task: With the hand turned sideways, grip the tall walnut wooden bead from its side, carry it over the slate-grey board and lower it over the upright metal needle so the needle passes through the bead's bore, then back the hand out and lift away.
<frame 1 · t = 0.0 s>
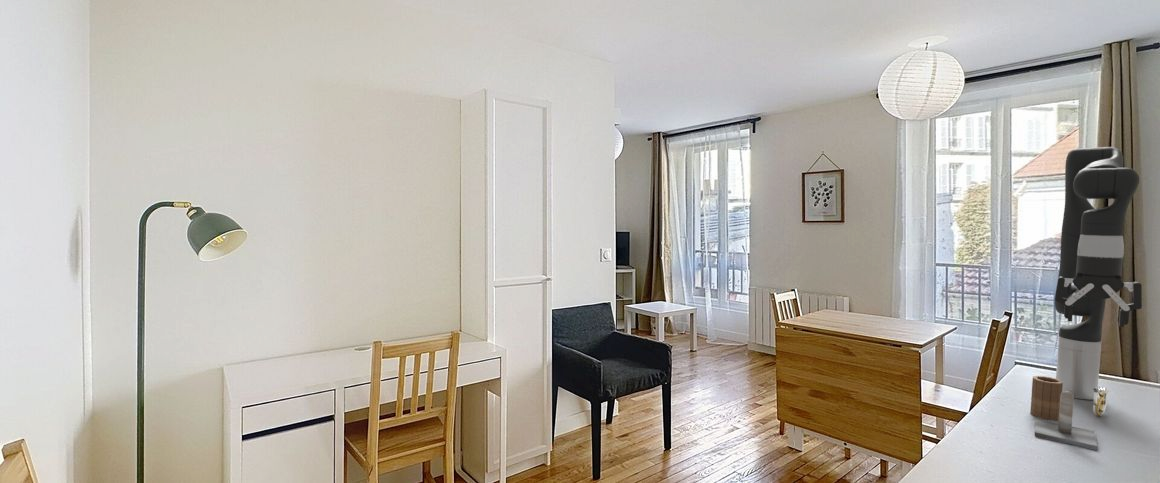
hand: (1094, 323, 121), 29 cm above the table, tool pointing down, fingers open, 8 cm apart
needle stand: (1064, 435, 128), on the table
wooden bead: (1045, 415, 141), on the table
ring: (1099, 416, 141), on the table
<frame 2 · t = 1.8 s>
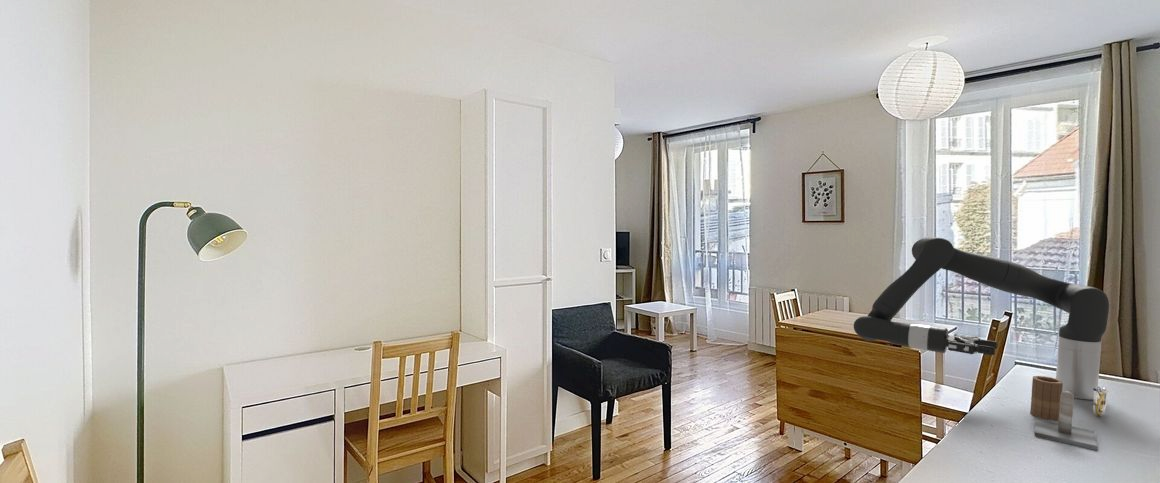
hand: (995, 348, 147), 16 cm above the table, tool horizontal, fingers open, 8 cm apart
nothing on the table moved.
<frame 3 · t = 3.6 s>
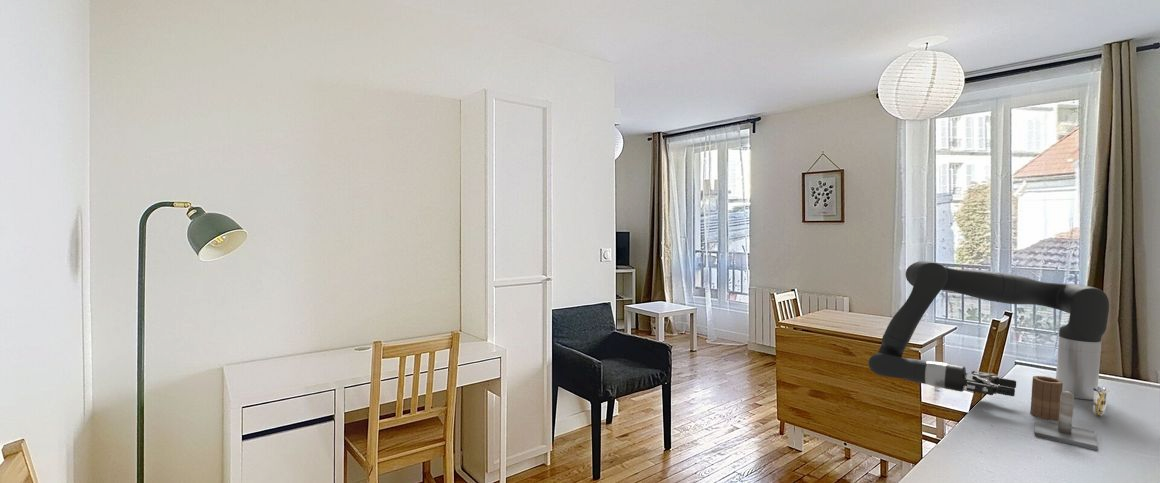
hand: (1015, 388, 145), 6 cm above the table, tool horizontal, fingers open, 8 cm apart
nothing on the table moved.
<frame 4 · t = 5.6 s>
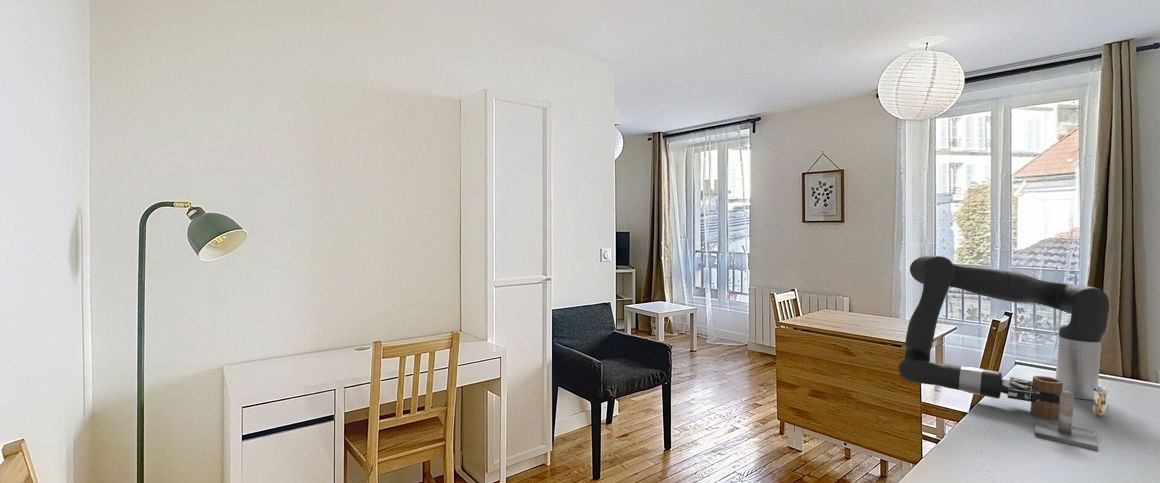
hand: (1058, 396, 139), 6 cm above the table, tool horizontal, fingers closed on wooden bead, 6 cm apart
wooden bead: (1045, 415, 141), on the table, touching gripper
everything else where it was.
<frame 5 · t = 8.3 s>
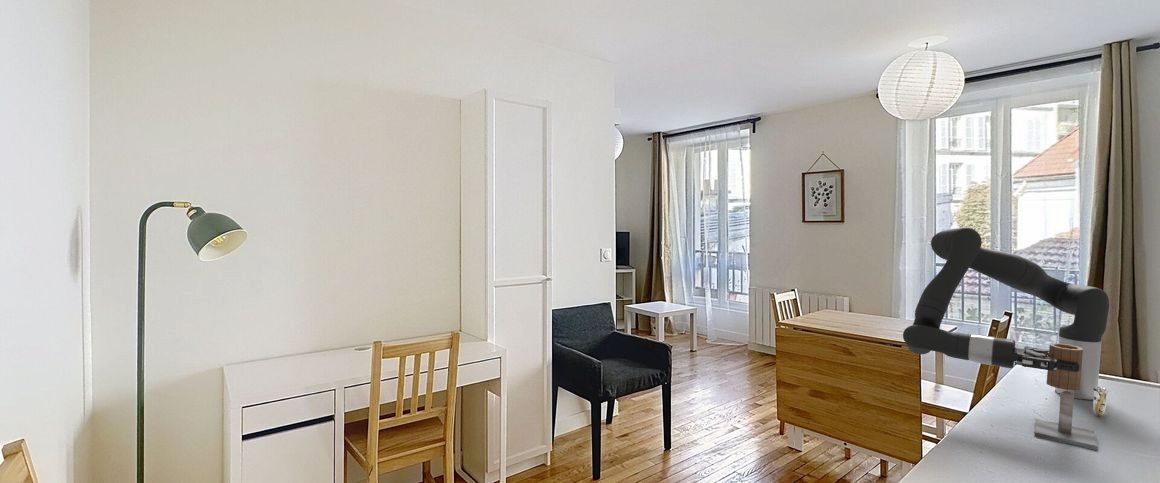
hand: (1078, 364, 127), 18 cm above the table, tool horizontal, fingers closed on wooden bead, 6 cm apart
wooden bead: (1062, 386, 129), point 12 cm above the table, touching gripper
everything else where it was.
when the fingers open (9 cm above the table, at t = 11.2 s): wooden bead drops 2 cm, resting on needle stand.
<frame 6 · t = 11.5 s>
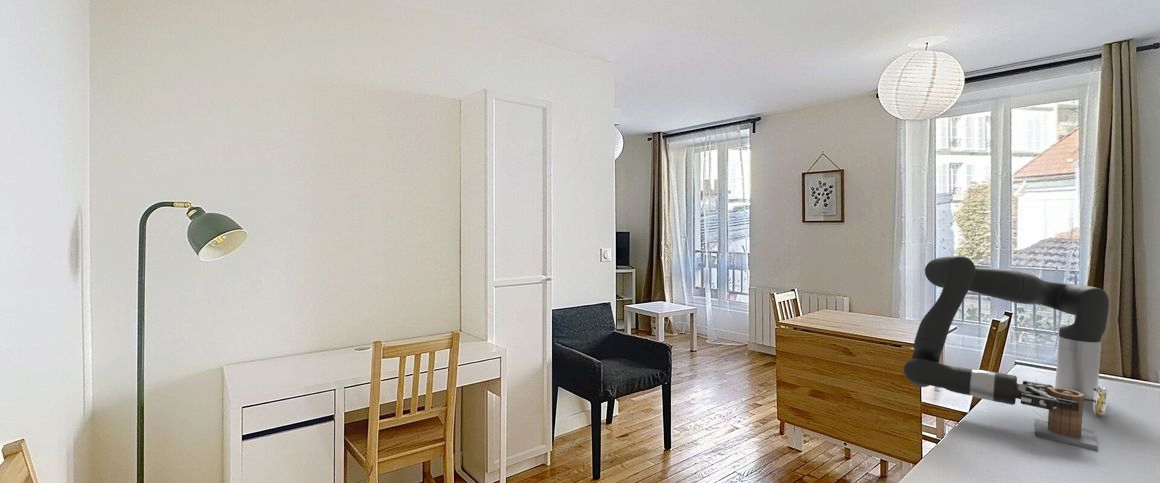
hand: (1077, 402, 126), 9 cm above the table, tool horizontal, fingers open, 8 cm apart
wooden bead: (1063, 431, 128), point 1 cm above the table, touching needle stand
everything else where it was.
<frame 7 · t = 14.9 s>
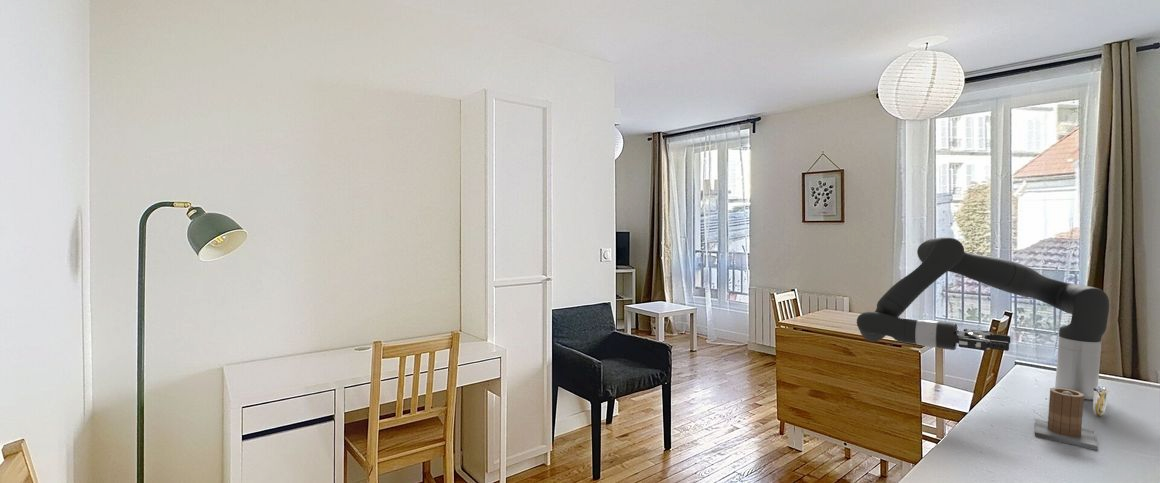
hand: (1009, 343, 137), 20 cm above the table, tool horizontal, fingers open, 8 cm apart
nothing on the table moved.
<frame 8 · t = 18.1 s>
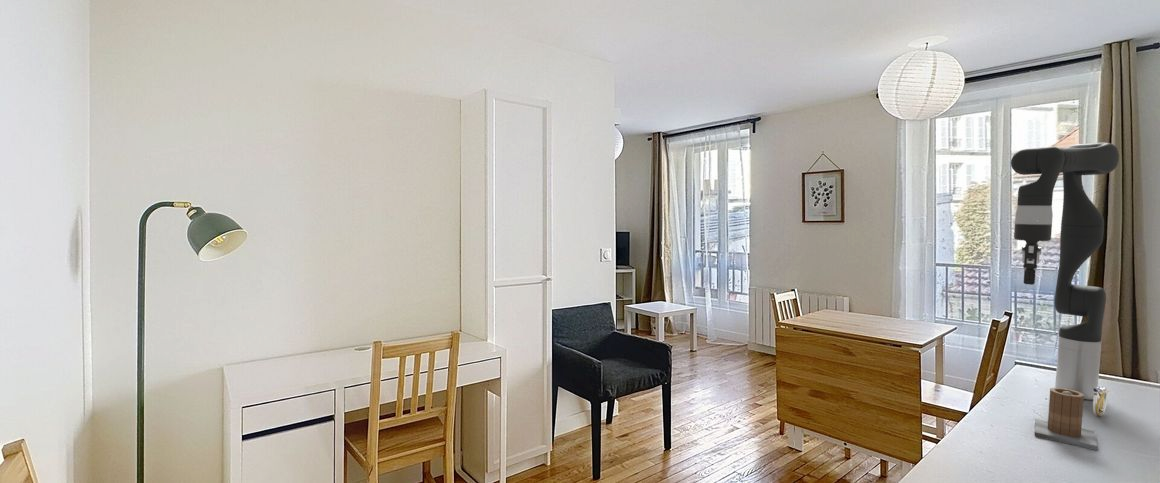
hand: (1029, 282, 140), 36 cm above the table, tool pointing down, fingers open, 8 cm apart
nothing on the table moved.
at the end: wooden bead 0.1 cm from the needle stand (horizontally); wooden bead point 1.0 cm above the table; wooden bead tilted 0° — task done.
